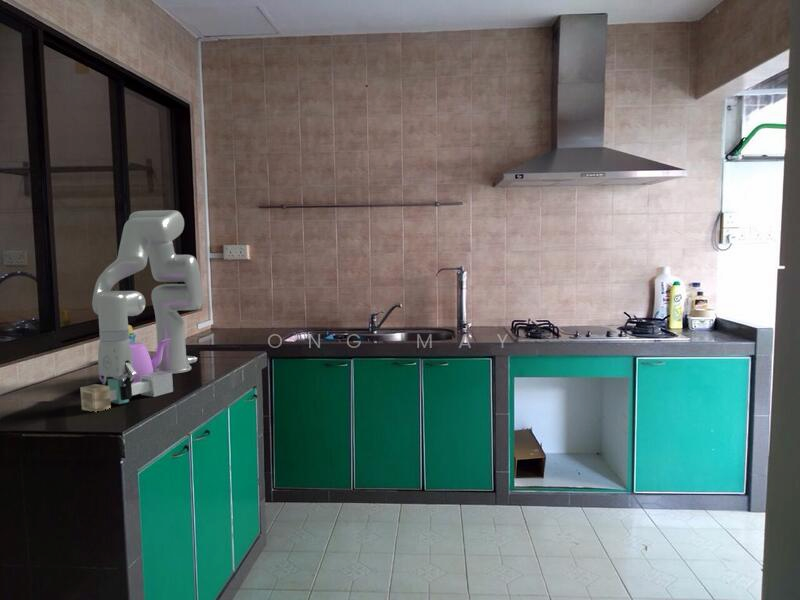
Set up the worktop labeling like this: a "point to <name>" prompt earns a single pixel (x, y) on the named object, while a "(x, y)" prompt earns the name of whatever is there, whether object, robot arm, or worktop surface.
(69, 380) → the worktop surface
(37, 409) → the worktop surface
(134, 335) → the potted flower
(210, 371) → the worktop surface
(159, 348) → the teapot
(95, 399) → the socket
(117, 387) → the plug
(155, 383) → the sleeve
